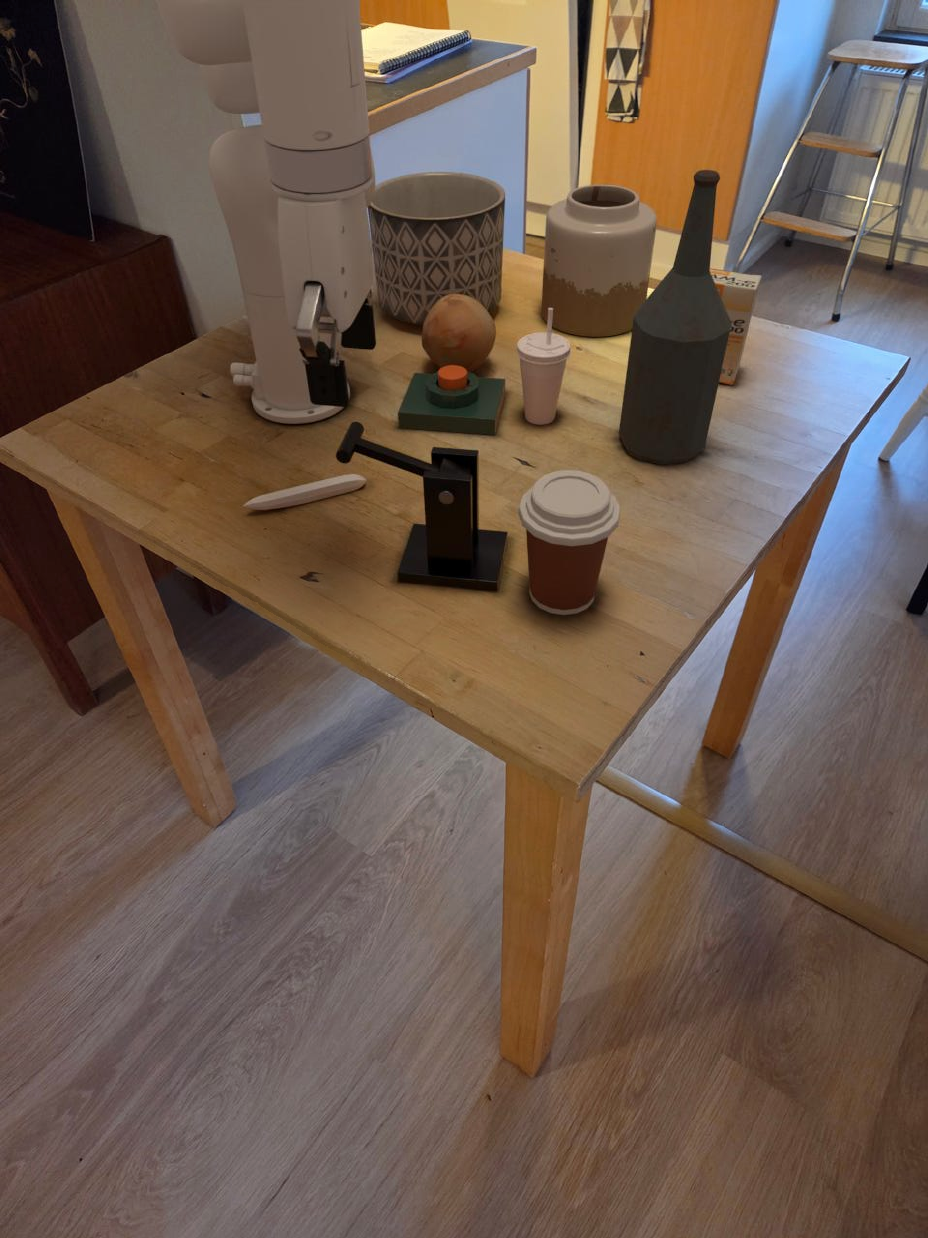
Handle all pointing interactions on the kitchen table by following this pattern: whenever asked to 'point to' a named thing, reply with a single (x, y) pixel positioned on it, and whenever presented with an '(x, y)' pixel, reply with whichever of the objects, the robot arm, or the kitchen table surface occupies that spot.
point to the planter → (436, 241)
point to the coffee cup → (567, 538)
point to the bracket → (453, 531)
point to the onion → (458, 332)
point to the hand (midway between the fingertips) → (345, 374)
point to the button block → (452, 405)
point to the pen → (307, 492)
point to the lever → (389, 454)
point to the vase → (597, 260)
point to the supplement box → (736, 315)
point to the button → (452, 378)
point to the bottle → (678, 346)
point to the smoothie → (542, 372)
